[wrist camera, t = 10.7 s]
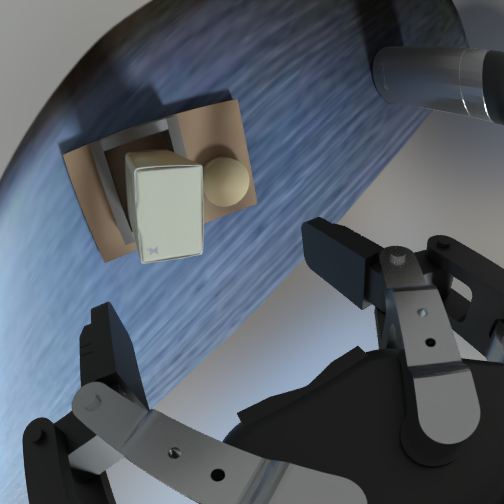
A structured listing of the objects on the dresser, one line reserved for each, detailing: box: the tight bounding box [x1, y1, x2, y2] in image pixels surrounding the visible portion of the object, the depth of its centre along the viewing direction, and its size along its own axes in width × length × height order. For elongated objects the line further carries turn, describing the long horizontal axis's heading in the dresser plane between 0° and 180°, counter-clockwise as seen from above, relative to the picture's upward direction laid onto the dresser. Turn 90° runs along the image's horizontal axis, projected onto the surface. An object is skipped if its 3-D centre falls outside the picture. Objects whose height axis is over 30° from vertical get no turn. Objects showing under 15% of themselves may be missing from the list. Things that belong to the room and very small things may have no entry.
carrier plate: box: [63, 99, 257, 263], centre depth 28 cm, size 18×12×4 cm, turn 102°
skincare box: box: [124, 149, 204, 264], centre depth 23 cm, size 6×4×12 cm
